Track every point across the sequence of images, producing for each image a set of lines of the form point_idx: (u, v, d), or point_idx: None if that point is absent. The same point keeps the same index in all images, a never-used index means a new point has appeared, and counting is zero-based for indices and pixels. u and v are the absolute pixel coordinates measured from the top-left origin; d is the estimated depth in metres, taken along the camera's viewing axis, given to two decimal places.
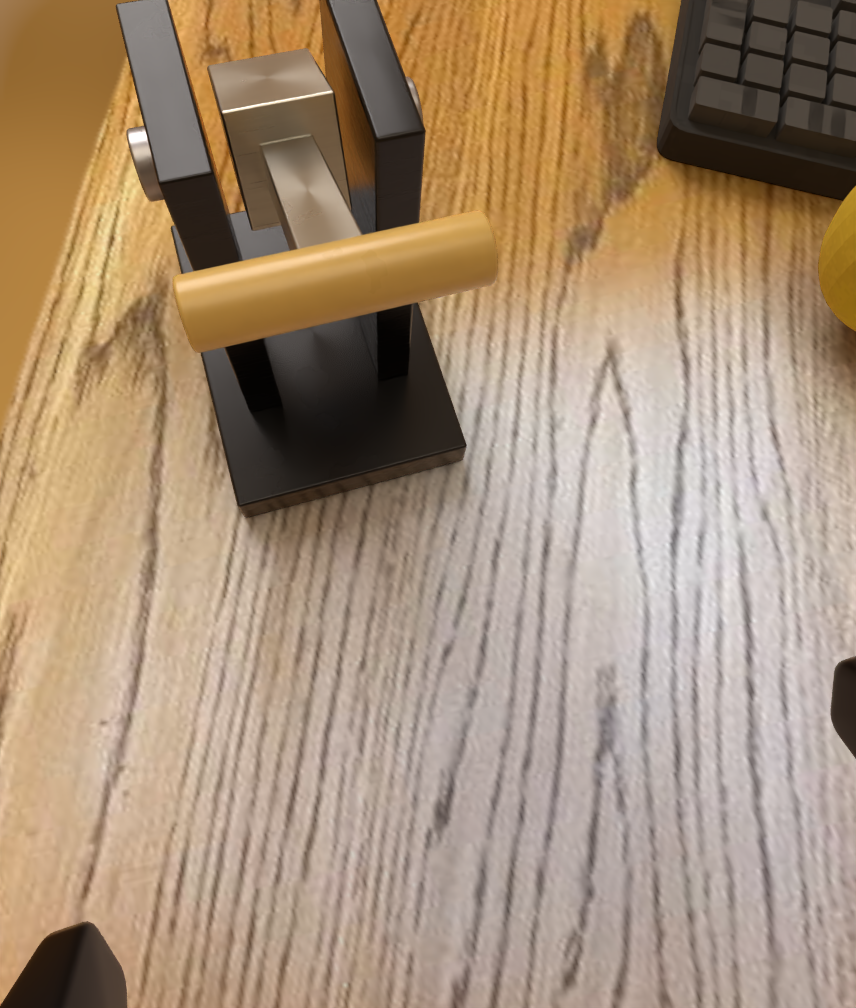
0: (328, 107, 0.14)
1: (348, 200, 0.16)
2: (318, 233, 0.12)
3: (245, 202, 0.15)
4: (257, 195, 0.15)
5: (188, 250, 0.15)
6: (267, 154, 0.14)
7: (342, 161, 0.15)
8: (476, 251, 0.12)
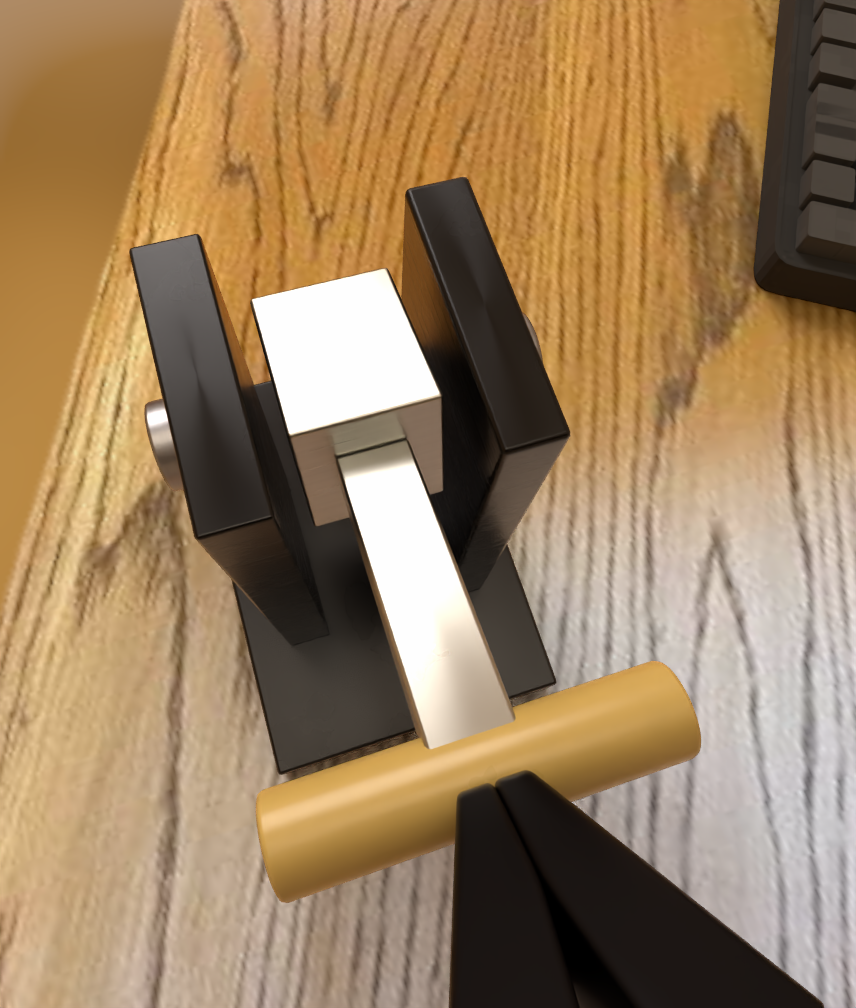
0: (432, 411, 0.10)
1: (441, 484, 0.12)
2: (452, 709, 0.09)
3: (309, 506, 0.11)
4: (326, 498, 0.11)
5: (231, 574, 0.11)
6: (350, 484, 0.10)
7: (441, 454, 0.11)
8: (675, 753, 0.08)
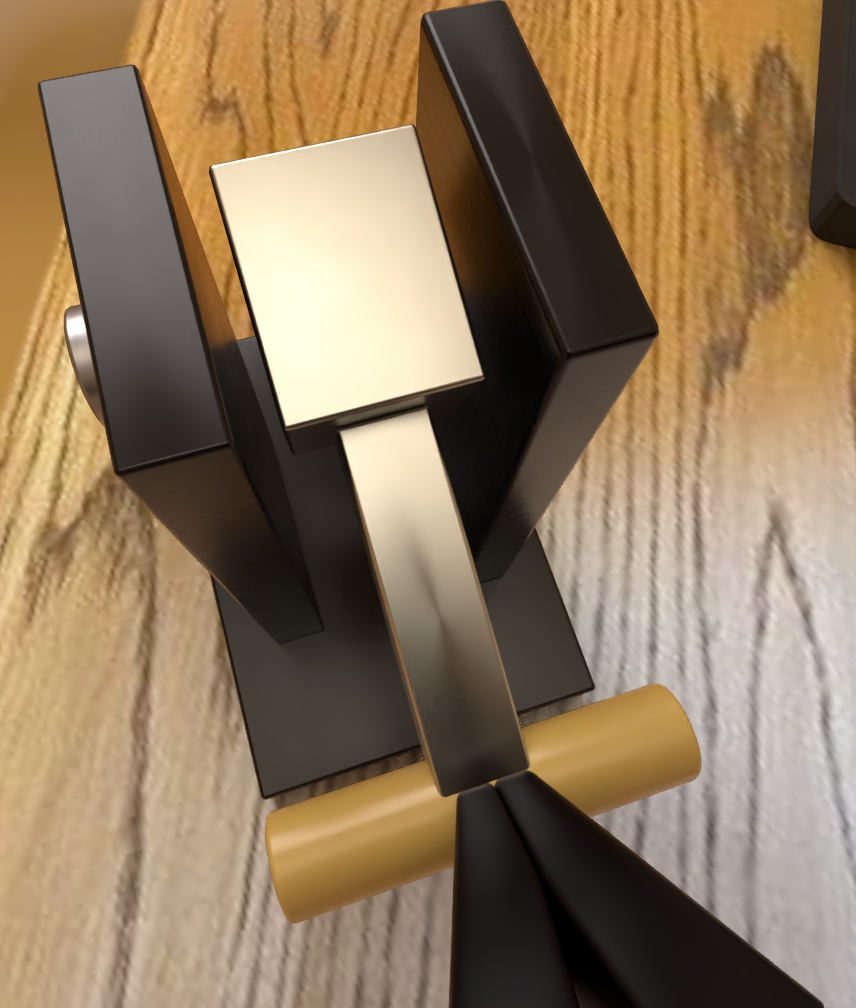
0: (468, 388, 0.08)
1: None
2: (467, 757, 0.08)
3: (292, 449, 0.09)
4: (313, 444, 0.09)
5: (182, 538, 0.08)
6: (356, 470, 0.08)
7: None
8: (672, 787, 0.09)
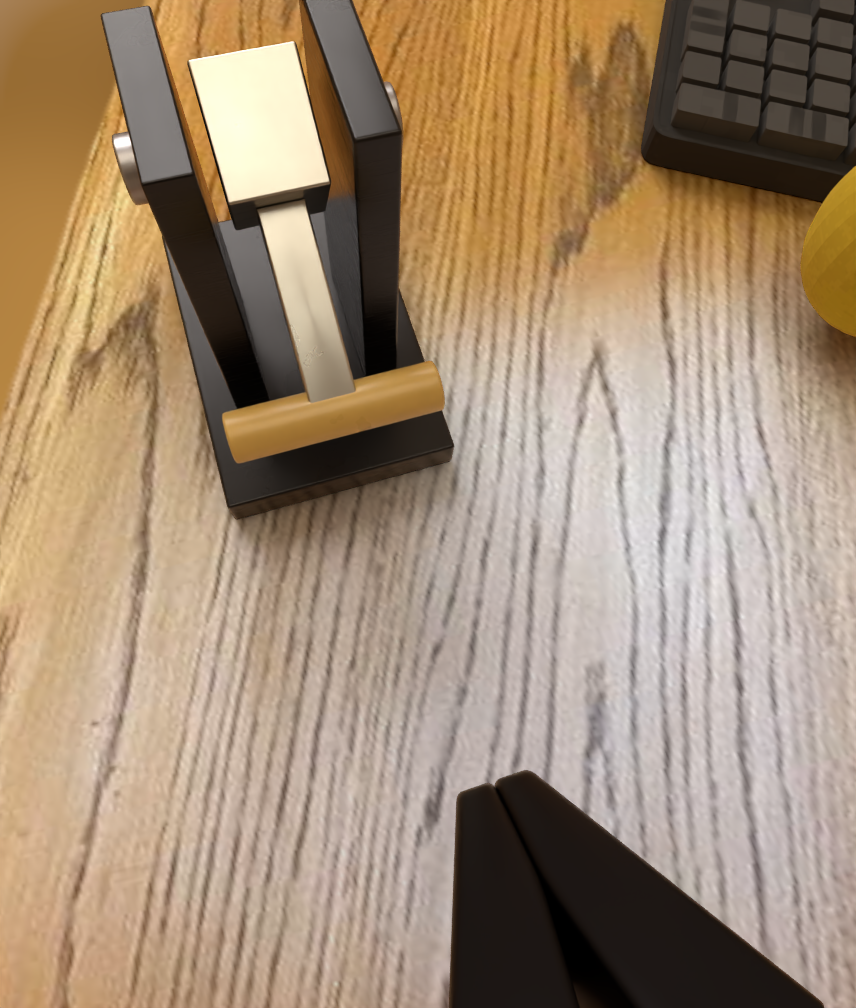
0: (323, 189, 0.16)
1: (324, 210, 0.17)
2: (323, 383, 0.17)
3: (234, 224, 0.17)
4: (246, 221, 0.17)
5: (172, 251, 0.15)
6: (266, 232, 0.16)
7: (326, 201, 0.17)
8: (430, 410, 0.17)
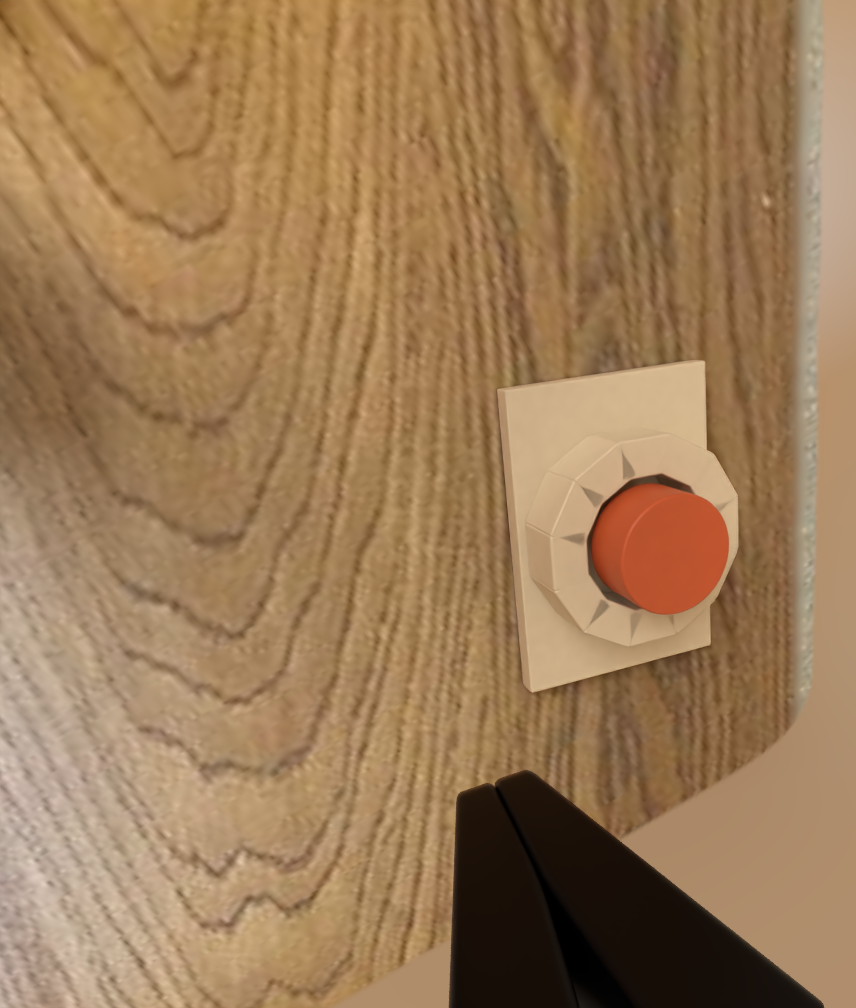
0: None
1: None
2: None
3: None
4: None
5: None
6: None
7: None
8: None
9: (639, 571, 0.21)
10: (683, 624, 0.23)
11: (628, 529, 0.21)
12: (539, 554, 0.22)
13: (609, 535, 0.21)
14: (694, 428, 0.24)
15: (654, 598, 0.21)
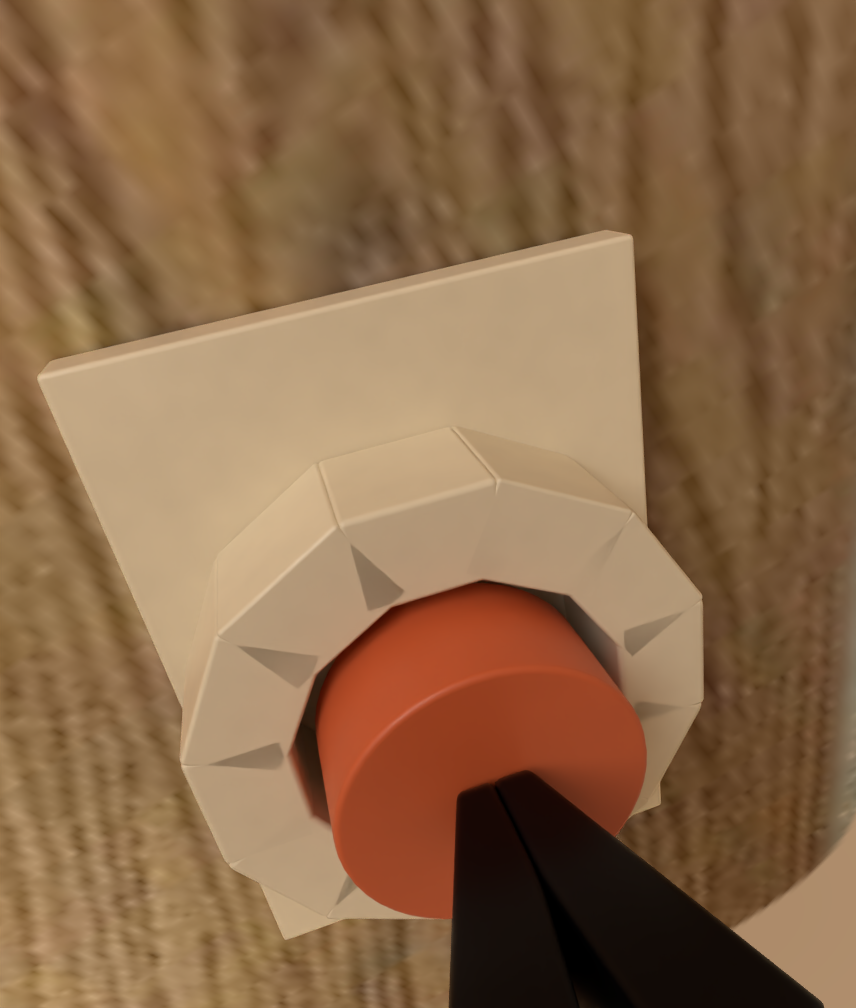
0: None
1: None
2: None
3: None
4: None
5: None
6: None
7: None
8: None
9: (393, 856, 0.08)
10: None
11: (345, 775, 0.07)
12: None
13: (327, 750, 0.08)
14: (609, 409, 0.10)
15: (446, 896, 0.08)
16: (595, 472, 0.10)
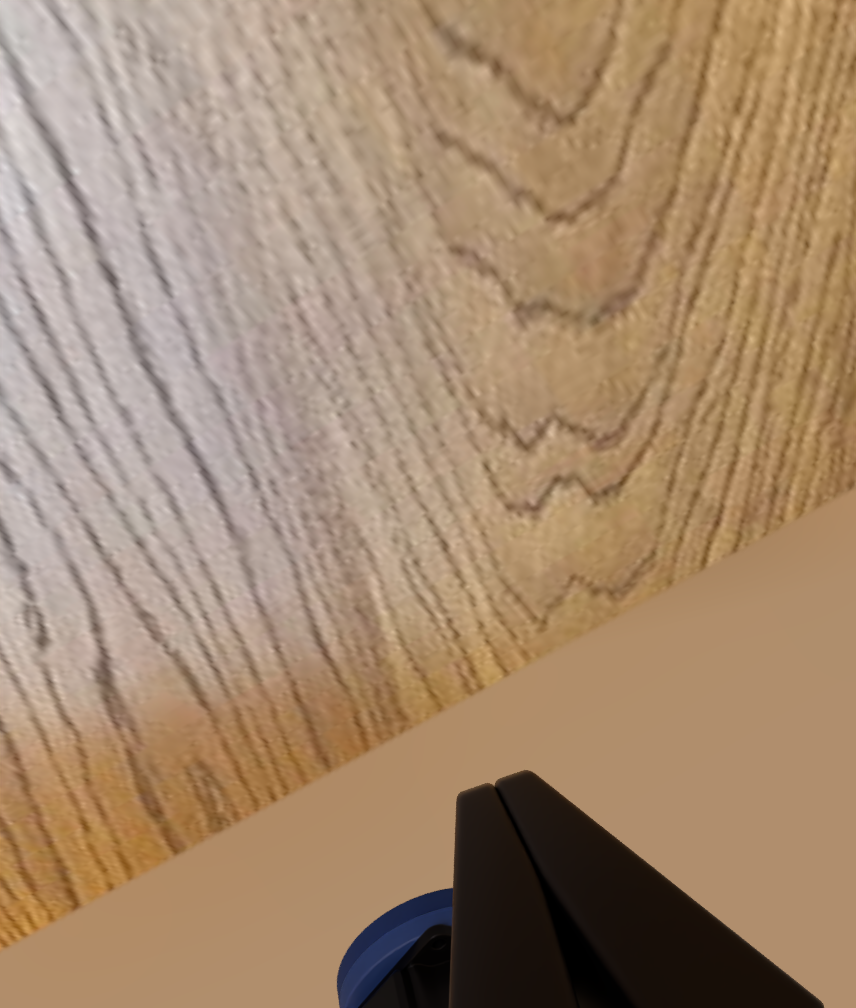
0: None
1: None
2: None
3: None
4: None
5: None
6: None
7: None
8: None
9: None
10: None
11: None
12: None
13: None
14: None
15: None
16: None
